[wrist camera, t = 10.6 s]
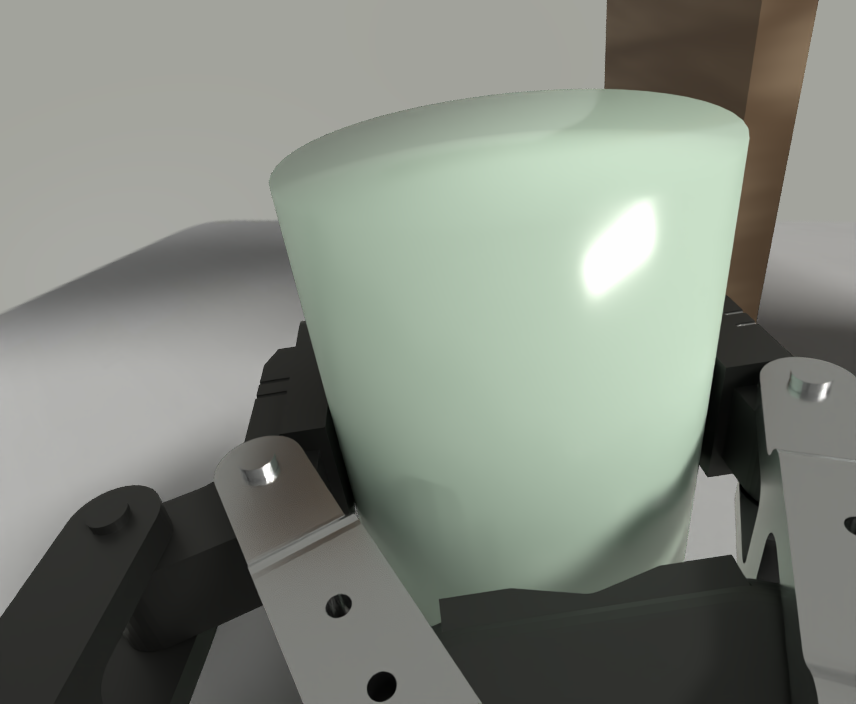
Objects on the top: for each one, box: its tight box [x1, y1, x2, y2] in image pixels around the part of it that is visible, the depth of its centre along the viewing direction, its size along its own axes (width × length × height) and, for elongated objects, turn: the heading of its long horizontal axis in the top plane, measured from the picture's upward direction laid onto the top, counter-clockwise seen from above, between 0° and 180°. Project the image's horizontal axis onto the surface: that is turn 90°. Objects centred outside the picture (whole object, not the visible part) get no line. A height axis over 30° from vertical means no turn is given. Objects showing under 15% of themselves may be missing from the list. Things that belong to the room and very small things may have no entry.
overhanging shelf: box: [604, 0, 819, 324], centre depth 21 cm, size 20×12×24 cm, turn 95°
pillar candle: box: [269, 89, 749, 626], centre depth 11 cm, size 6×6×11 cm
